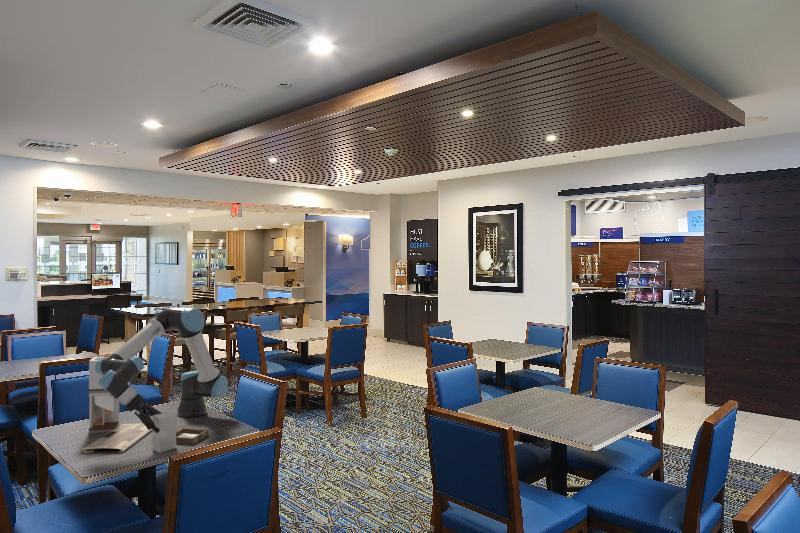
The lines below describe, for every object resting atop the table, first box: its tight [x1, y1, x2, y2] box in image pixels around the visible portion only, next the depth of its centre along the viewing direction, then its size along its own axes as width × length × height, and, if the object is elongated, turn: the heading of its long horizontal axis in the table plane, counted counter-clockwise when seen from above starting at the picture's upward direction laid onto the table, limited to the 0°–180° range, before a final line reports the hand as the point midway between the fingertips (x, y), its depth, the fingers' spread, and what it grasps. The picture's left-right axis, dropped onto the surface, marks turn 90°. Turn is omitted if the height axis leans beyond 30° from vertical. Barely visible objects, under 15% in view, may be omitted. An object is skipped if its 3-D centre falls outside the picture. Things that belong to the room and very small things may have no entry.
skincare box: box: [151, 411, 177, 454], centre depth 247 cm, size 8×7×16 cm
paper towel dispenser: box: [88, 356, 120, 434], centre depth 275 cm, size 11×11×35 cm
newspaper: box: [81, 422, 153, 454], centre depth 260 cm, size 37×19×3 cm, turn 3°
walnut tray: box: [176, 427, 209, 446], centre depth 261 cm, size 14×14×3 cm
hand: (167, 431), depth 247 cm, fingers open, 13 cm apart
